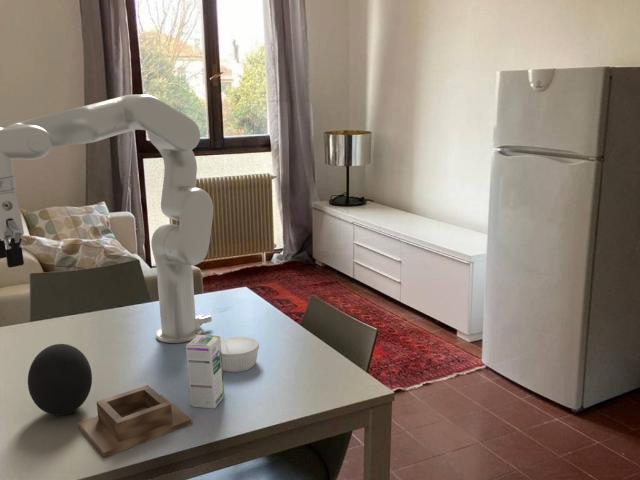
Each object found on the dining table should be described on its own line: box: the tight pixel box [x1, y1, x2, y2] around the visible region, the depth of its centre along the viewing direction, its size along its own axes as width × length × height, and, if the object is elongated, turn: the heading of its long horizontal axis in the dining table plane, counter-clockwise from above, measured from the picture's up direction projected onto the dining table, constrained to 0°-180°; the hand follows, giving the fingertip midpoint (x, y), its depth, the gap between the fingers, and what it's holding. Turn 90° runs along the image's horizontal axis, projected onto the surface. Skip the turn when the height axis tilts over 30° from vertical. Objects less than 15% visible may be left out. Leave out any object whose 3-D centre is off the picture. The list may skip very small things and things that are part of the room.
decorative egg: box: [27, 343, 93, 416], centre depth 125 cm, size 12×12×15 cm
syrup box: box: [185, 334, 226, 410], centre depth 129 cm, size 6×6×14 cm
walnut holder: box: [78, 384, 193, 458], centre depth 121 cm, size 18×14×5 cm
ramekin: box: [220, 336, 260, 373], centre depth 148 cm, size 11×11×5 cm
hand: (7, 262), depth 132 cm, fingers open, 9 cm apart
